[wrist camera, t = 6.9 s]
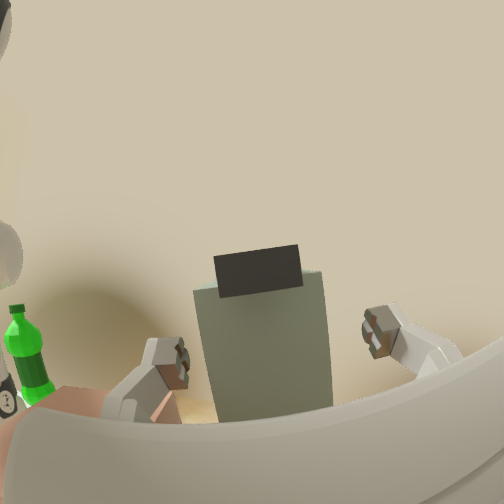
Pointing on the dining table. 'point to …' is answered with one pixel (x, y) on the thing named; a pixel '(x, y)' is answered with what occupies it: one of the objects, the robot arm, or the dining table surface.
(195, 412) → the dining table surface
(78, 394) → the pinkish tan cardboard cube
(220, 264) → the domino
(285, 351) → the pedestal
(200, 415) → the dining table surface
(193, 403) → the dining table surface
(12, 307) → the plastic bottle
